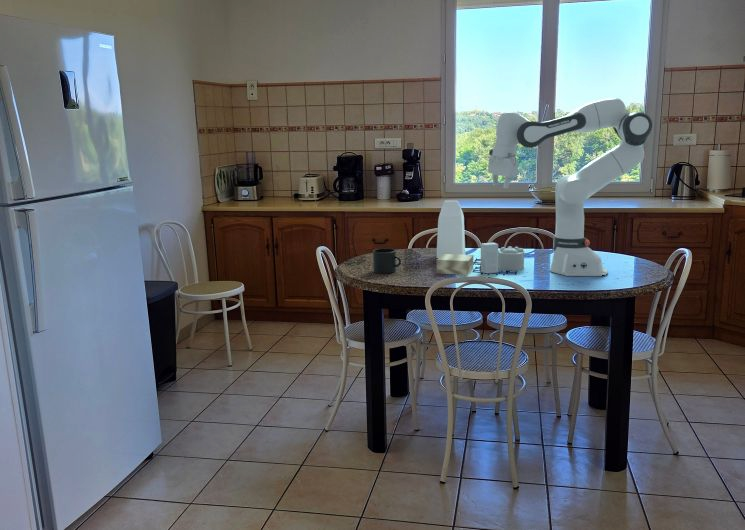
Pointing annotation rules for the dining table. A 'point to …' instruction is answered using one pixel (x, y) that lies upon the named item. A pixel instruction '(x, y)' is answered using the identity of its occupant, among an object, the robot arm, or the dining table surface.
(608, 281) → the dining table surface
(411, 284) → the dining table surface
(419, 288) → the dining table surface
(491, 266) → the skincare box
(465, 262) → the birch block
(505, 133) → the robot arm
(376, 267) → the mug
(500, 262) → the lumpy-topped squat cylinder
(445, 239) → the milk
